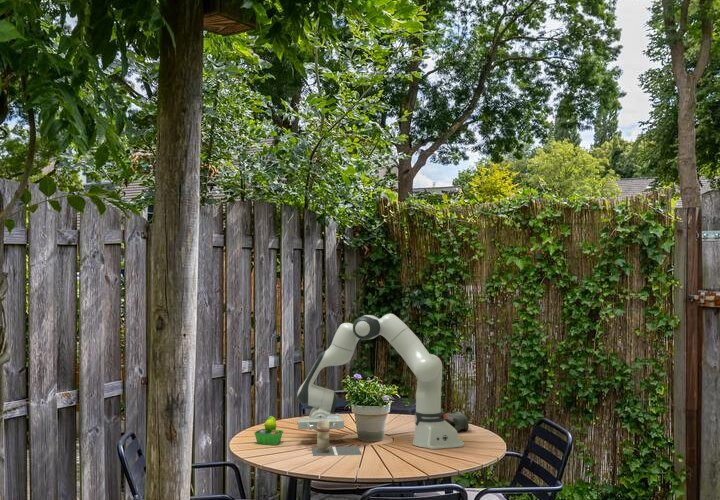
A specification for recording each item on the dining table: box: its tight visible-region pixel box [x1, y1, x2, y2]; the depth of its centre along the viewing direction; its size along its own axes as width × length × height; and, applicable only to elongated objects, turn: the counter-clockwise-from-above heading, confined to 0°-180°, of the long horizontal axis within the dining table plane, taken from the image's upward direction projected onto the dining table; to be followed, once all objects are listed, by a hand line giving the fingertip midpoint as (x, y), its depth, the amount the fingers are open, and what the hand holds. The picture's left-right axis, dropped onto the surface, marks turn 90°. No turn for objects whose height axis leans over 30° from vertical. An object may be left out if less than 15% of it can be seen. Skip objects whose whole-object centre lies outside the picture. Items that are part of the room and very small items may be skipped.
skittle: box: [316, 421, 330, 453], centre depth 268 cm, size 5×5×12 cm
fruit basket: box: [254, 415, 284, 446], centre depth 287 cm, size 11×9×11 cm
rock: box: [445, 411, 470, 432], centre depth 317 cm, size 18×11×8 cm, turn 11°
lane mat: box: [311, 445, 363, 457], centre depth 268 cm, size 20×14×1 cm
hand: (321, 427), depth 276 cm, fingers open, 8 cm apart
